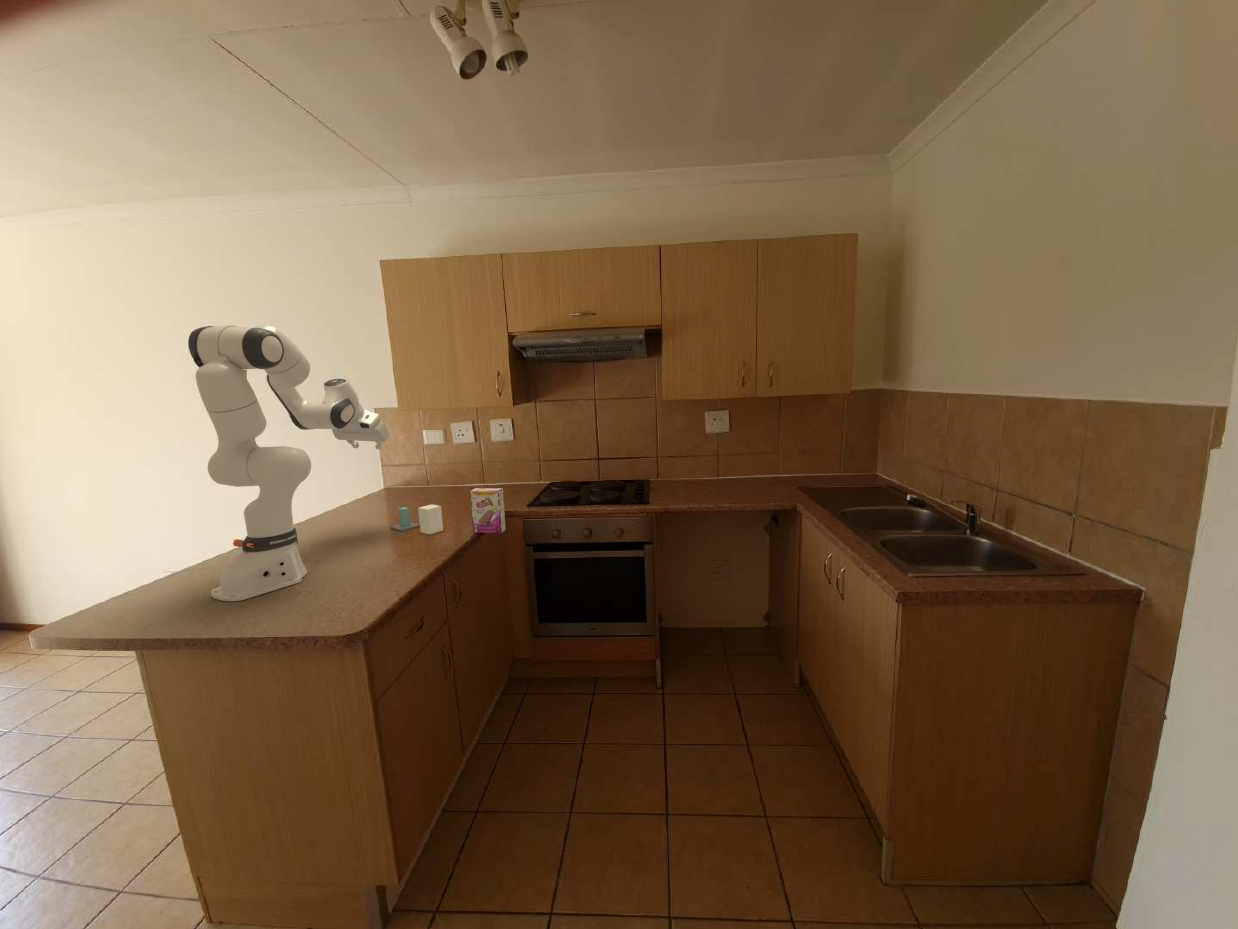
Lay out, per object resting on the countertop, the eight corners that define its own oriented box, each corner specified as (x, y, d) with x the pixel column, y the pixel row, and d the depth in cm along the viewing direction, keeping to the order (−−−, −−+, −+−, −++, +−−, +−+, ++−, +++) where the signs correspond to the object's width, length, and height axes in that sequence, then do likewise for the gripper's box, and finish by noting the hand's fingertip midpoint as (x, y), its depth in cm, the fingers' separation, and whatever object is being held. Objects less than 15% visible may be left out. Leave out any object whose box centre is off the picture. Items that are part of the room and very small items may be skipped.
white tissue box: (429, 534, 181) (427, 509, 179) (420, 532, 184) (418, 507, 182) (443, 530, 185) (440, 506, 184) (433, 528, 188) (431, 504, 187)
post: (402, 531, 185) (399, 512, 184) (390, 528, 189) (388, 509, 188) (420, 526, 191) (418, 507, 190) (409, 523, 196) (407, 504, 195)
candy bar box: (472, 534, 179) (469, 491, 177) (477, 530, 184) (474, 488, 182) (502, 534, 178) (498, 490, 176) (506, 530, 183) (503, 487, 180)
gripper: (322, 422, 175) (338, 451, 184) (375, 425, 173) (388, 454, 182) (331, 412, 180) (347, 441, 189) (383, 414, 177) (396, 443, 187)
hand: (368, 447), depth 185 cm, fingers open, 8 cm apart
